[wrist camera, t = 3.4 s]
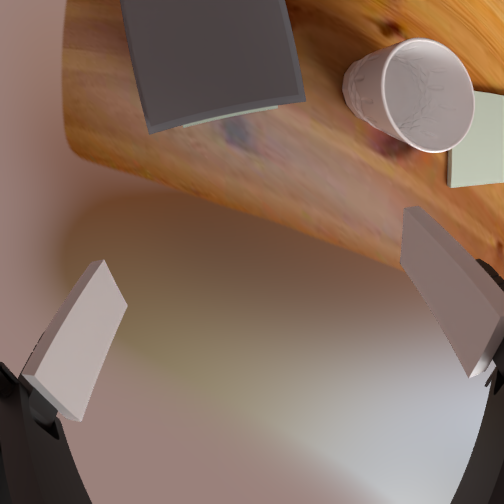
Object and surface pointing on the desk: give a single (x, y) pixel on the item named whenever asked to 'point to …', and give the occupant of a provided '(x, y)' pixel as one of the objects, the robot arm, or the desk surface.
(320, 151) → the desk surface
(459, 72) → the white cup
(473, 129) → the coaster
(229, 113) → the block
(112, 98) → the desk surface
